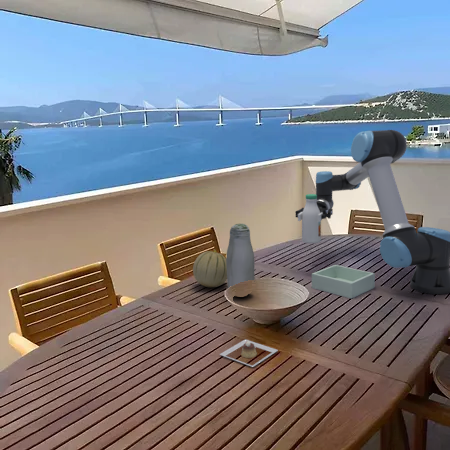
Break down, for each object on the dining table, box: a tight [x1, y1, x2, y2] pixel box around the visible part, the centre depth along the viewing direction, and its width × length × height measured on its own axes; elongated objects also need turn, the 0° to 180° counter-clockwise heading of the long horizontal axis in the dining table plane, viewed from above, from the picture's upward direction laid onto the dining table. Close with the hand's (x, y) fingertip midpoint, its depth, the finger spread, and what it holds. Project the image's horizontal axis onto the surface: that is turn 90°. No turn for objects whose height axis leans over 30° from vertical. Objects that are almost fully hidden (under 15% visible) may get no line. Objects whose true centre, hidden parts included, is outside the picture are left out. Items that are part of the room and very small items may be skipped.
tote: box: [311, 264, 376, 299], centre depth 185 cm, size 18×16×6 cm
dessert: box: [218, 339, 279, 368], centre depth 134 cm, size 12×12×5 cm
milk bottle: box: [301, 193, 322, 244], centre depth 198 cm, size 8×8×20 cm
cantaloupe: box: [192, 248, 227, 288], centre depth 191 cm, size 15×15×15 cm
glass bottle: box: [225, 223, 255, 288], centre depth 178 cm, size 10×10×28 cm
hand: (308, 218), depth 193 cm, fingers closed on milk bottle, 7 cm apart
